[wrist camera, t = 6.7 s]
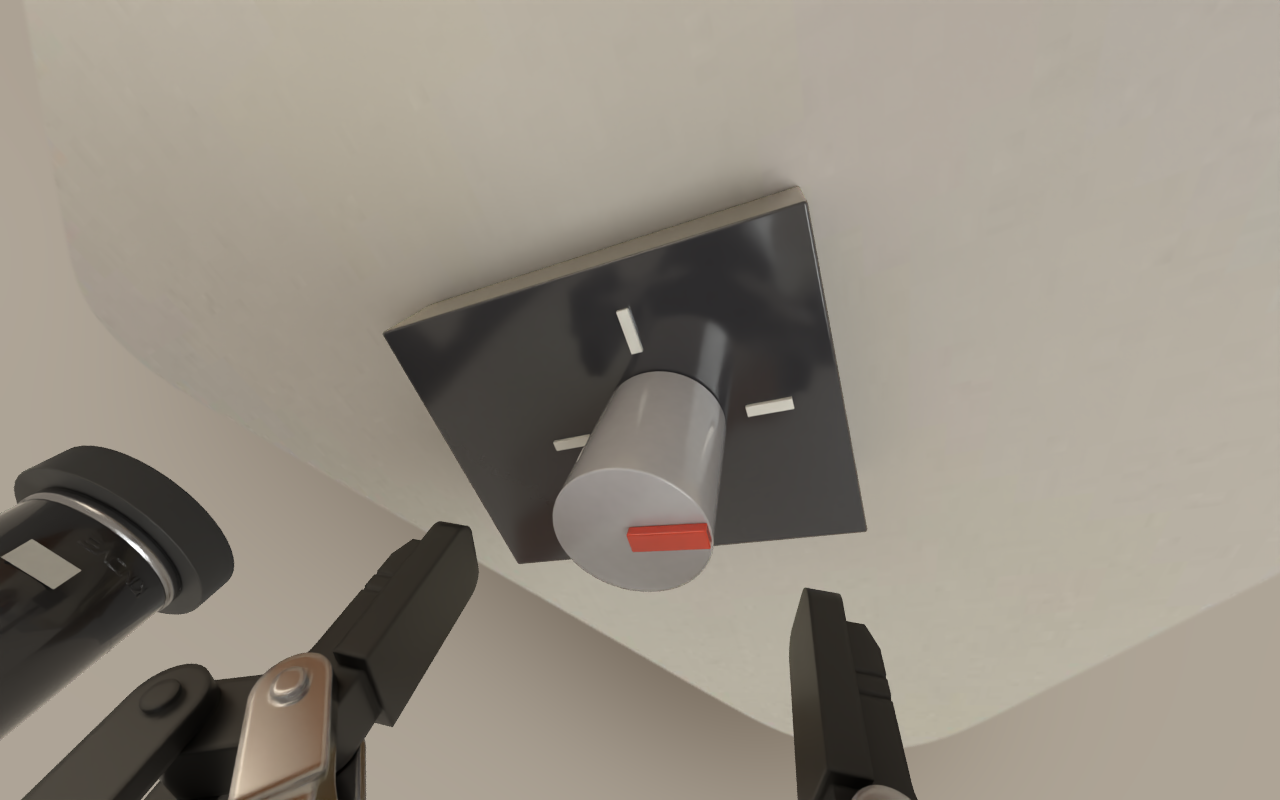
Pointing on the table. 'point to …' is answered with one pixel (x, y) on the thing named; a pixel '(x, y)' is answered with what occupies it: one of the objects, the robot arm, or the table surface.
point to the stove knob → (646, 485)
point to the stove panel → (647, 342)
